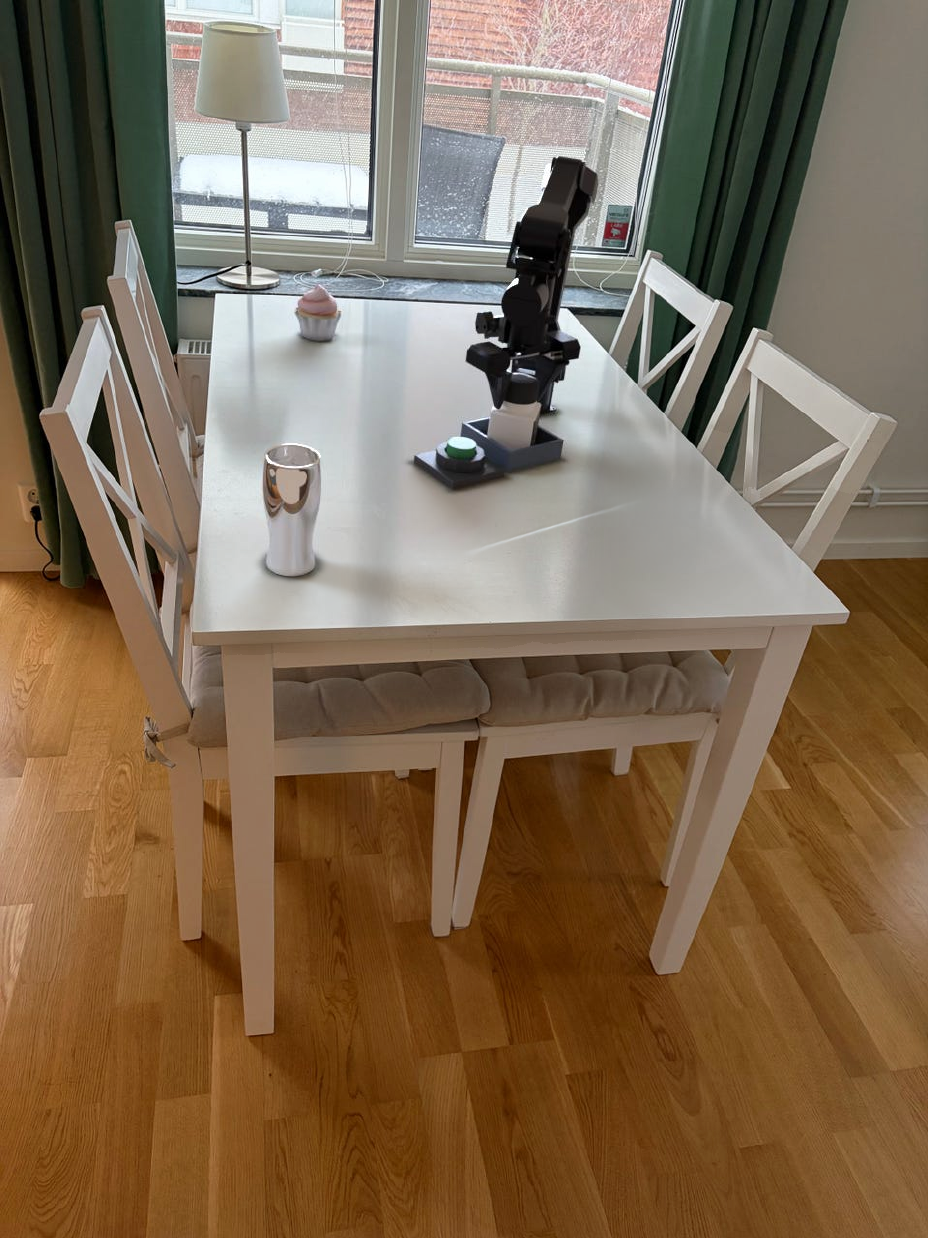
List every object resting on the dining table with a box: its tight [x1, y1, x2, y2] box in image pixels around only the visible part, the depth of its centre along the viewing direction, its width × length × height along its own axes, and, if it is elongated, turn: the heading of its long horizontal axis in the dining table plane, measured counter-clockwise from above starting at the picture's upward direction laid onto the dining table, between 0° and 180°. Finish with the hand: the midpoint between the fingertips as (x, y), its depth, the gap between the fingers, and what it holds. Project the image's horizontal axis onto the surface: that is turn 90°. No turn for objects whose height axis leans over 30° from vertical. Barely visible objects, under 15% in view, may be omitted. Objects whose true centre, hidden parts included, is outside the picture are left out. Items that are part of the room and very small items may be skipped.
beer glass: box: [261, 443, 322, 577], centre depth 121 cm, size 7×7×15 cm
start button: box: [446, 436, 476, 459], centre depth 151 cm, size 4×4×2 cm
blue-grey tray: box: [460, 416, 565, 474], centre depth 160 cm, size 11×12×3 cm
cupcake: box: [293, 283, 342, 342], centre depth 192 cm, size 9×9×10 cm
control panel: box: [413, 441, 506, 491], centre depth 152 cm, size 10×10×3 cm
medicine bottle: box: [487, 373, 541, 451], centre depth 157 cm, size 7×7×12 cm
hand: (516, 404), depth 156 cm, fingers closed on medicine bottle, 8 cm apart
